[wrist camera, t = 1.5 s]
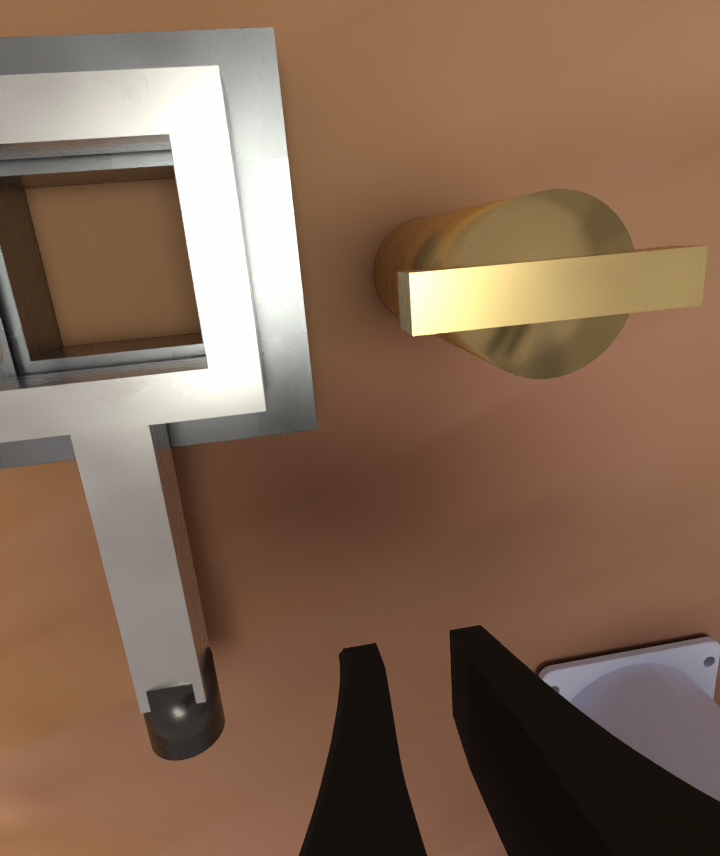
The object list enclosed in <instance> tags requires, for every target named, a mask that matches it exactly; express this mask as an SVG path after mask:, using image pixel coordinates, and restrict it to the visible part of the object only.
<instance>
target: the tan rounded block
mask: <svg viewBox="0 0 720 856" xmlns="http://www.w3.org/2000/svg"><path fill="white" fill-rule="evenodd" d="M707 252H708V245H706V246H667V247H656V248H645V249H634V247H633V243H632V241H631V238H630V235H629V233H628V231H627V229H626V228H625V226H624V224H623V222H622V221H621V220H620V218H619V217H618V216H617V215H616V213H615V212H614V211H612V210H611V209H610V208H609V207H608V206H607V205H606V204H604V203H603V202H602V201H600V200H599V199H597V198H595V197H593V196H591V195H589V194H586V193H583V192H579V191H575V190H569V189H551V190H545V191H539V192H535V193H530V194H526V195H521V196H517V197H512V198H508V199H503V200H499V201H494V202H490V203H485V204H481V205H476V206H472V207H467V208H463V209H458V210H454V211H449V212H445V213H440V214H436V215H431V216H427V217H422V218H418V219H414V220H410V221H408V222H405V223H403V224H401V225H400V226H398V227H397V228H395V229H394V230H393V231H392V232H391V233H390V234H389V235H388V236H387V237H386V239H385V240H384V241H383V243H382V245H381V247H380V248H379V251H378V253H377V256H376V260H375V267H374V278H375V285H376V288H377V291H378V294H379V296H380V298H381V300H382V301H383V303H384V304H385V305H386V307H387V308H388V309H389V310H390V311H391V312H393V313H394V314H395V315H397V316H398V317H400V329H401V330H403V331H405V332H406V333H408V334H410V335H412V336H418V335H428V334H434V335H436V336H438V337H440V338H442V339H444V340H446V341H448V342H450V343H452V344H453V345H455V346H457V347H459V348H461V349H463V350H465V351H467V352H469V353H471V354H473V355H475V356H477V357H479V358H481V359H483V360H485V361H487V362H489V363H491V364H493V365H495V366H497V367H499V368H501V369H503V370H505V371H507V372H509V373H512V374H514V375H517V376H521V377H525V378H533V379H549V378H555V377H560V376H563V375H566V374H569V373H572V372H574V371H576V370H578V369H581V368H582V367H584V366H586V365H587V364H589V363H590V362H592V361H593V360H594V359H596V358H597V357H598V356H599V355H601V354H602V353H603V352H604V351H605V350H606V349H607V348H608V347H609V345H610V344H611V343H612V342H613V340H614V339H615V338H616V337H617V335H618V334H619V332H620V330H621V329H622V327H623V325H624V323H625V321H626V319H627V317H628V315H629V313H634V312H644V311H653V310H663V309H672V308H681V307H691V306H700V305H702V300H703V291H704V281H705V271H706V262H707Z"/></svg>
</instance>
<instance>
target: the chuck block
mask: <svg viewBox="0 0 720 856" xmlns="http://www.w3.org/2000/svg"><path fill="white" fill-rule="evenodd" d="M215 65H219V69H220V72H221V76H222V80H223V83H224V87H225V92H226V99H227V107H228V114H229V121H230V129H231V136H232V143H233V151H234V158H235V165H236V172H237V180H238V187H239V194H240V202H241V209H242V216H243V224H244V231H245V238H246V246H247V253H248V260H249V268H250V275H251V282H252V290H253V297H254V304H255V312H256V319H257V326H258V334H259V341H260V348H261V356H262V363H263V370H264V378H265V385H266V392H267V405H266V411H264V412H255V413H247V414H239V415H230V416H222V417H213V418H205V419H197V420H188V421H180V422H171V423H166V427H167V432H168V438H169V443H170V448H172V447H180V446H188V445H196V444H204V443H212V442H220V441H228V440H236V439H244V438H252V437H261V436H269V435H277V434H285V433H293V432H301V431H309V430H317V429H318V428H317V419H316V409H315V400H314V391H313V382H312V373H311V364H310V355H309V346H308V337H307V328H306V318H305V309H304V300H303V291H302V282H301V273H300V264H299V255H298V246H297V237H296V227H295V218H294V209H293V200H292V191H291V182H290V173H289V164H288V155H287V146H286V136H285V127H284V118H283V109H282V100H281V91H280V82H279V73H278V64H277V55H276V45H275V36H274V27H267V28H240V29H214V30H188V31H161V32H135V33H109V34H83V35H56V36H30V37H4V38H0V75H17V74H39V73H61V72H83V71H105V70H127V69H149V68H171V67H193V66H215ZM169 178H176V184H177V190H178V196H179V201H180V195H179V189H178V183H177V177H176V171H175V165H174V159H173V153H172V149H169V150H153V151H137V152H121V153H105V154H89V155H73V156H57V157H41V158H25V159H9V160H0V318H1V321H2V325H3V328H4V332H5V336H6V339H7V343H8V347H9V350H10V354H11V358H12V361H13V365H14V368H15V372H16V376H26V375H36V374H45V373H54V372H64V371H73V370H83V369H92V368H102V367H111V366H120V365H130V364H139V363H149V362H158V361H168V360H177V359H186V358H196V357H205V356H206V350H205V344H204V338H203V332H202V326H201V320H200V314H199V308H198V302H197V296H196V290H195V284H194V278H193V272H192V266H191V260H190V254H189V248H188V242H187V236H186V230H185V224H184V218H183V212H182V206H181V201H180V207H181V213H182V219H183V225H184V231H185V237H186V243H187V249H188V255H189V261H190V267H191V273H192V279H193V285H194V291H195V297H196V303H197V309H198V315H199V321H200V327H201V333H194V334H184V335H175V336H165V337H155V338H145V339H135V340H125V341H115V342H105V343H95V344H85V345H76V346H66V347H63V346H62V342H61V338H60V334H59V330H58V326H57V322H56V318H55V314H54V309H53V305H52V301H51V297H50V293H49V289H48V285H47V281H46V277H45V273H44V269H43V265H42V261H41V257H40V253H39V248H38V244H37V240H36V236H35V232H34V228H33V224H32V220H31V216H30V212H29V208H28V204H27V200H26V196H25V191H24V188H37V187H52V186H66V185H81V184H96V183H110V182H125V181H139V180H154V179H169ZM75 459H76V456H75V452H74V448H73V444H72V440H71V436H70V435H62V436H54V437H45V438H37V439H29V440H20V441H12V442H3V443H0V469H3V468H11V467H19V466H27V465H35V464H43V463H51V462H59V461H67V460H75Z"/></svg>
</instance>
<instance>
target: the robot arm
mask: <svg viewBox="0 0 720 856" xmlns="http://www.w3.org/2000/svg"><path fill="white" fill-rule="evenodd" d="M450 653H451V679H452V706H453V717H454V720H455V723H456V726H457V730H458V733H459V736H460V739H461V743H462V746H463V749H464V752H465V755H466V758H467V761H468V764H469V767H470V770H471V772H472V774H473V777H474V779H475V781H476V784H477V786H478V788H479V791H480V793H481V795H482V797H483V800H484V802H485V804H486V807H487V809H488V811H489V813H490V816H491V818H492V820H493V823H494V825H495V827H496V829H497V832H498V834H499V836H500V838H501V841H502V843H503V845H504V847H505V850H506V852H507V854H508V856H720V707H719V706H718V705H717V704H716V703H715V702H714V701H713V699H714V692H715V685H716V677H717V670H718V663H719V656H720V645H719V643H718V642H717V641H716V640H714V639H713V638H711V637H702V638H697V639H691V640H686V641H680V642H675V643H670V644H664V645H659V646H653V647H648V648H642V649H637V650H631V651H626V652H621V653H615V654H610V655H604V656H599V657H593V658H588V659H582V660H577V661H572V662H566V663H561V664H555V665H550V666H547V667H545V668H544V669H542V670H541V672H540V673H539V676H537V675H536V674H535V673H534V672H533V671H532V670H530V669H529V668H528V667H527V666H526V665H525V664H524V663H522V662H521V661H520V660H519V659H518V658H517V657H516V656H514V655H513V654H512V653H511V652H510V651H509V650H508V649H507V648H506V647H504V646H503V645H502V644H501V643H500V642H499V641H498V640H497V639H496V638H494V637H493V636H492V635H491V634H490V633H489V632H488V631H487V630H486V629H484V628H483V627H482V626H481V625H478V626H472V627H466V628H460V629H455V630H450ZM339 661H340V688H339V697H338V706H337V712H336V718H335V723H334V729H333V735H332V740H331V745H330V750H329V754H328V758H327V762H326V766H325V770H324V774H323V778H322V782H321V786H320V790H319V794H318V797H317V801H316V804H315V807H314V811H313V814H312V817H311V821H310V824H309V827H308V830H307V833H306V836H305V839H304V842H303V845H302V848H301V851H300V854H299V856H427V854H426V851H425V848H424V844H423V841H422V838H421V835H420V831H419V828H418V824H417V821H416V818H415V814H414V811H413V808H412V804H411V801H410V797H409V794H408V791H407V787H406V784H405V779H404V775H403V770H402V765H401V761H400V755H399V749H398V743H397V737H396V730H395V724H394V718H393V712H392V706H391V700H390V694H389V688H388V682H387V676H386V670H385V666H384V664H383V661H382V658H381V655H380V652H379V650H378V647H377V645H376V643H373V644H367V645H362V646H356V647H350V648H344V649H343V650H342V652H341V653H340V654H339ZM552 686H554V687H553V688H552Z"/></svg>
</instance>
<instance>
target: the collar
mask: <svg viewBox="0 0 720 856" xmlns="http://www.w3.org/2000/svg"><path fill="white" fill-rule="evenodd" d="M169 149H172V153H173V159H174V165H175V171H176V177H177V183H178V189H179V195H180V201H181V206H182V212H183V218H184V224H185V230H186V236H187V242H188V248H189V254H190V260H191V266H192V272H193V278H194V284H195V290H196V296H197V302H198V308H199V314H200V320H201V326H202V332H203V338H204V344H205V350H206V356H205V357H196V358H186V359H177V360H168V361H158V362H149V363H139V364H130V365H120V366H111V367H102V368H92V369H83V370H73V371H64V372H54V373H45V374H36V375H26V376H16V372H15V368H14V365H13V361H12V358H11V354H10V350H9V347H8V343H7V339H6V336H5V332H4V328H3V325H2V321H1V318H0V443H3V442H12V441H20V440H29V439H37V438H45V437H54V436H62V435H70V436H71V440H72V444H73V448H74V452H75V456H76V460H77V464H78V468H79V472H80V476H81V480H82V484H83V488H84V491H85V495H86V499H87V503H88V507H89V511H90V515H91V519H92V523H93V527H94V531H95V535H96V539H97V543H98V547H99V551H100V554H101V558H102V562H103V566H104V570H105V574H106V578H107V582H108V586H109V590H110V594H111V598H112V602H113V606H114V610H115V614H116V618H117V621H118V625H119V629H120V633H121V637H122V641H123V645H124V649H125V653H126V657H127V661H128V665H129V669H130V673H131V677H132V681H133V684H134V688H135V692H136V696H137V700H138V704H139V708H140V712H141V713H143V714H144V718H145V722H146V726H147V730H148V734H149V738H150V742H151V746H152V749H153V751H154V752H155V753H156V754H157V755H158V756H159V757H161V758H163V759H167V760H173V761H174V760H184V759H188V758H191V757H194V756H196V755H198V754H200V753H202V752H204V751H205V750H207V749H208V748H209V747H210V746H212V745H213V744H214V743H215V742H216V740H217V739H218V738H219V736H220V735H221V733H222V731H223V728H224V724H225V717H224V712H223V707H222V702H221V697H220V691H219V686H218V681H217V676H216V671H215V666H214V661H213V656H212V652H211V650H210V646H209V640H208V635H207V630H206V625H205V620H204V615H203V610H202V605H201V600H200V595H199V590H198V585H197V580H196V574H195V569H194V564H193V559H192V554H191V549H190V544H189V539H188V534H187V529H186V524H185V519H184V514H183V509H182V503H181V498H180V493H179V488H178V483H177V478H176V473H175V468H174V463H173V458H172V453H171V448H170V443H169V438H168V432H167V427H166V423H171V422H180V421H188V420H197V419H205V418H213V417H222V416H230V415H239V414H247V413H255V412H264V411H266V405H267V392H266V385H265V378H264V370H263V363H262V356H261V348H260V341H259V334H258V326H257V319H256V312H255V304H254V297H253V290H252V282H251V275H250V268H249V260H248V253H247V246H246V238H245V231H244V224H243V216H242V209H241V202H240V194H239V187H238V180H237V172H236V165H235V158H234V151H233V143H232V136H231V129H230V121H229V114H228V107H227V99H226V92H225V87H224V83H223V80H222V76H221V72H220V69H219V65H215V66H193V67H171V68H149V69H127V70H105V71H83V72H61V73H39V74H17V75H0V160H9V159H25V158H41V157H57V156H73V155H89V154H105V153H121V152H137V151H153V150H169Z"/></svg>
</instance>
